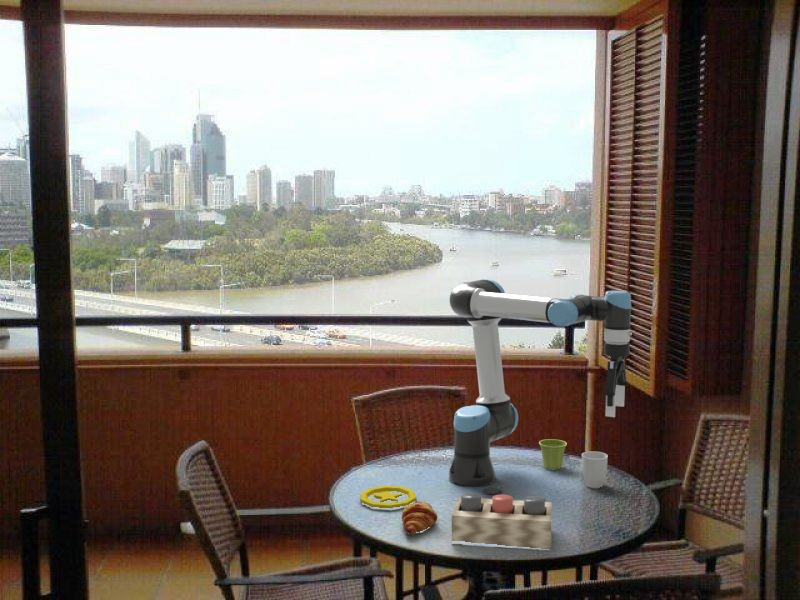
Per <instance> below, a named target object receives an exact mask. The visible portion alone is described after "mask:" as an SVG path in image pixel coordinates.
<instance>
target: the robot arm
mask: <svg viewBox="0 0 800 600" xmlns="http://www.w3.org/2000/svg"><path fill="white" fill-rule="evenodd" d="M449 306H450V307H451V309H452V311H453V312H454V313H455V315H457V316H459V317H463V318H466V320H467V322H468V323H469V324H470V325H471V327H472V334H473V343H474V352H475V363H476V365H475V366H476V373H477V383H478V392H479V396H478V397H477V398H476V400H475V404H473V405H470V406H469V405H467V406H463V407H460V408H459V409H457V411H455V413H454V417H453V418H454V419H453V432H454V433H453V448H454V449H453V450H454V451H453V452H454V455H453V459H452V461H451V466H450V468H449V471H448V479H450V480H451V481H453V482H455V483H458V484H457V485H459V484H461V485H460V486H464V485H466V486H465V487H480V486H481V485H482V486H487V485H490V484H492V483H494V482H495V480H496V471H495V468H494V465H493V463H492V459H491V455H490V453H491V452H490V450H491V449H490V448H491V445H490V444H491V443H492V442H495V441H497V440H499V439H503V438H506V437H507V436H509V435H511V434H512V433H513V432H514V431H515V430H516V428H517V426H518V423H519V414H518V410H517V408H516V407H514V404H513V403H511V397H510V396H509V395H507V393H506V391H505V382H504V371H503V363H502V362H503V361H502V353H501V342H500V335H499V333H500V332H499V322H500V321H501V320H502V319H504V318H505V319H513V320H523V321H531V322H541V323H550V324H552V325H554V326H557V327H568V326H571V325H575V324H578V323H582V322H586V321H591V322H593V321H595V322H604V329H603V330H604V331H603V340H604V344H603V354H604V355H605V356H607V357H610V361H609V360H608V361H607V363H606V364H607V367H606V368H607V370H606V376H605V377H606V378H605V385H604V391H603V392H602V395H603V396H605V411H604V413H605V417H609V418H615V417H616V407H622V408H623V407H625V392H626V391H625V390H626V389H625V388H626V387H625V386H628V381H627V373H626V357H628V356H630V353H631V351H630V349H631V347H630V346H631V345H630V343H629V342H630V341H631V340H630V339H631V336H632V335H633V333H632V331H631V316H632V313H631V312H632V295H631V293H630V292H628V291H626V290H607V291H606V292H605V295H604V296H595V295H586V294H573V295H570V297H569V298H553V297H543V296H533V295H523V294H513V293H511V294H510V293H506V292H505V289H504V288H503V287H502V285H501V284H500V283H499V282H497V281H495V280H493V279H479V280H472V281H465V282H462V283H461V282H460V283H459V284H457V285H456V286H455V287H454V288H452V291H451V292H450V295H449ZM450 480H449V481H450ZM451 481H450V482H451ZM453 482H452V483H453ZM455 483H454V484H455ZM486 484H487V485H486ZM482 486H481V487H482Z"/></svg>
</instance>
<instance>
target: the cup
mask: <svg viewBox="0 0 800 600" xmlns="http://www.w3.org/2000/svg"><path fill="white" fill-rule="evenodd" d="M608 457H609V456H608V454H607V453H605V452H602V451H585V452H582V453H581V466H582V468H581V469H582V474H583V479H584V482H585V485H586V487H587V488H589V489H600V487H601V488H602V487H603V485H604V482H605V480H606V475H607V470H608Z"/></svg>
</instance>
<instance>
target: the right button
mask: <svg viewBox="0 0 800 600" xmlns="http://www.w3.org/2000/svg"><path fill="white" fill-rule="evenodd" d="M523 501H524V514H525V515H542V516H545V502H546V499H545V498H543V497H541V496H536V495H533V496H532V495H531V496H526V497H524V499H523Z"/></svg>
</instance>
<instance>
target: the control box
mask: <svg viewBox="0 0 800 600" xmlns="http://www.w3.org/2000/svg"><path fill="white" fill-rule="evenodd" d="M455 501H456V502H455V504H454V507H453V510H452V513H451V542H452V541H465V542H471V543H485V544H497V545H505V546H517V547H530V548H541V549H549V550H551V551H552V503H553V502H551V501H545V516H542V515H525V514H524V500H520V499H519V500H517V499H516V500H514V499H513V514H507V513H492V498H482V497H481V512H473V511H461V496H460V497H459V496H458V497H457V499H456V500H455Z"/></svg>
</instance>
